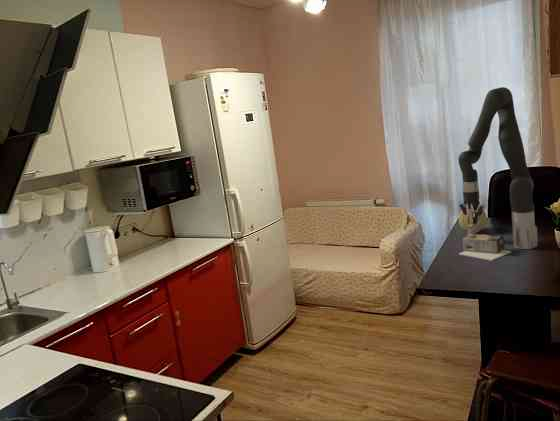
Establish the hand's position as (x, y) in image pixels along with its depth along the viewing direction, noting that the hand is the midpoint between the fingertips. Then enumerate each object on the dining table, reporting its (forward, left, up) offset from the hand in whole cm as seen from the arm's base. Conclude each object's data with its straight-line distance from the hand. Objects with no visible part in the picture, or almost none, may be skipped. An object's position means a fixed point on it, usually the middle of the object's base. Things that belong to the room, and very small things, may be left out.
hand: (472, 223), depth 232 cm
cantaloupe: (+12, -16, -10) cm, 22 cm away
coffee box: (-5, +13, -6) cm, 15 cm away
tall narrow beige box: (0, -1, -5) cm, 5 cm away
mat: (-16, +14, -10) cm, 23 cm away
